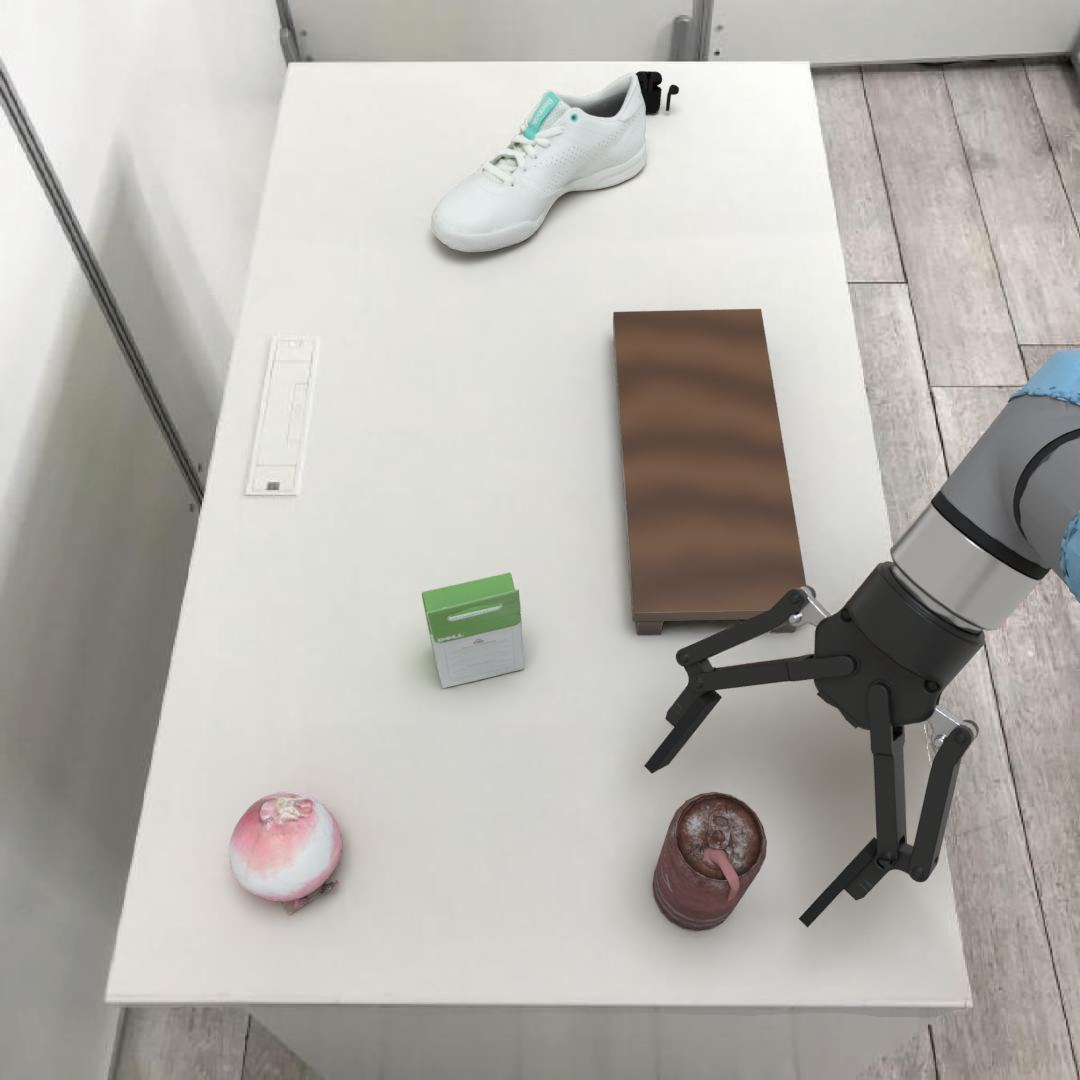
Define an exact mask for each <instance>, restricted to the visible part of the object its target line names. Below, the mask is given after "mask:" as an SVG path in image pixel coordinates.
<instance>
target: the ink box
mask: <svg viewBox="0 0 1080 1080" xmlns="http://www.w3.org/2000/svg"><path fill="white" fill-rule="evenodd" d="M421 599H422V605H423V609H424V614H425V619H426V624H427V630H428V635H429V638H430V643H431V648H432V652H433V658H434V661H435V666H436V669H437V675H438V679H439V683H440V685H441V688H442V689H446V688H451V687H456V686H459V685H463V684H467V683H472V682H476V681H480V680H484V679H489V678H492V677H497V676H500V675H504V674H509V673H513V672H516V671H517V672H518V671H522V670H524V669H525V668H526V666H525V653H524V639H523V638H524V637H523V624H522V607H521V598H520V589H519V588H518V589H516V588H515V584H514V580H513V576H512V573H511V572H510V571H509V572H506V573H505V572H504V573H500V574H495V575H491V576H488V577H483V578H478V579H474V580H470V581H466V582H460V583H456V584H452V585H447V586H446V585H445V586H441V587H437V588H433V589H428V590H424V591H423V590H422V592H421Z"/></svg>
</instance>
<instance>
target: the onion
mask: <svg viewBox="0 0 1080 1080" xmlns="http://www.w3.org/2000/svg"><path fill="white" fill-rule="evenodd" d="M342 837H343V836H342V832H341V829H340V826H339V823H338V822H337V820H336V818H335V816H334V815H333V813H332V812H331V811H330V809H329V808H328V807H326V805H325V804H324V803H322V802H321V801H319V800H318V799H315V798H314V797H312V796H310V795H305V794H303V793H297V792H291V791H277V792H273V793H272V794H268V795H266V796H264V797H261V798H259V799H258V800H257V801H256V802H253V804H251V805H250V807H248V808H247V809H246V811H245V812H244V813H243V814H242V816H241V817H240V818H239V820H238V821H237V823H236V825H235V826H234V829H233V831H232V834H231V836H230V840H229V845H228V846H229V847H228V857H229V858H228V859H229V864H230V868H231V871H232V873H233V876H234V878H235V880H236V882H237V883H238V884H239V885H240V887H241V888H243V889H244V890H245V891H247V892H248V893H250V894H252V895H254V896H256V897H259V898H261V899H264V900H268V901H274V902H280V904H281V905H282V907H283V909H284V910H285V912H286V914H287V915H291V914H292V913H294V912H295V911H297V910H299V909H300V908H302V907H304V906H306V905H307V904H308V903H310V902H312V901H313V900H314V899H315V898H316V897H317V896H320V895H323V894H325V893H326V892H328V891H329V890H331V889H332V888H334V887H335V886H337V885H338V884H340V882H339V881H338V880H337V879H335V880H333V881H330V882H327V880H328V879H329V878H330V877H331V875H332V874H333V873H334V871H335V869H336V868H337V866H338V864H339V862H340V860H341V857H342V856H341V855H342V851H343V840H342ZM320 887H321V888H320ZM319 888H320V890H319V892H317V893H316V894H315V895H313V896H312V897H311V898H309V897H308V896H309V895H311V894H312V893H314V892H315V891H316V890H318V889H319Z"/></svg>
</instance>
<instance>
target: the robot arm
mask: <svg viewBox="0 0 1080 1080" xmlns="http://www.w3.org/2000/svg"><path fill="white" fill-rule="evenodd" d="M889 553H890V556H891V560H892V561H891V560H886V561H883V562H879V563H877V565H876V566H875V567H874V568H873V570H872V571H871V572H870V573H869V574H868V576H867V577H866V578H865V580H864V581H863V582H862V583H861V584H860V585H859V587H858V588H857V589H856V590H855V592H853V594H852V595H851V597H850V598H849V599H848V600H847V601H846V603H845V604H843V607H842V608H840V610H838V611H837V612H836V613H834V614H830V612H829V611H828V610H827V609H826V608H825V607H824V606H823V605H822V604H821V603H820V602H819V601H818V600H817V593H816V590H815V589H814V587H812V586H811V585H806V586H802V587H799V588H795V589H792V590H790V591H788V592H787V593H786V594H785V595H784V596H783V597H782V598H781V599H780V600H779V601H778V602H777V603H776V604H775V605H774V606H773V607H772V608H771V609H770V610H768V611H766V612H764V613H761V614H759V615H757V616H755V617H752V618H750V619H745V620H744V621H741V622H739V623H736V624H735V625H732V626H730V627H728V628H725V629H723V630H720V631H718V632H716V633H714V634H712V635H709V636H708V637H705V638H703V639H700V640H698V641H696V642H693V643H691V644H689V645H686V646H685V647H682V648H680V649H678V650H677V652H676V653H675V662H676V663H677V664H678V665H679V666H680V667H683V668H684V671H685V672H686V674H687V676H688V682H687V685H686V686H685V687H684V689H683V690H682V692H681V693H680V694H679V695H678V697H676V699H675V700H674V702H672V705H671V706H670V707H669V709H668V710H666V714H665V718H664V719H665V720H666V721H667V722H668V723H669V724H670V725H671V727H672V729H671V731H670V732H669V733H668V734H667V736H666V737H665V738H664V739H663V741H662V742H661V743H660V744H659V746H658V747H657V749H656V750H655V751H654V752H653V754H652V755H650V757H649V759H648V760H647V761H646V763H645V764H644V765H643V767H644V768H645V769H646V770H647V771H648V772H649V773H650V774H654V773H657V772H658V771H660V770H662V769H664V768H665V767H667V766H669V765H670V764H671V763H672V761H673V760H674V759H675V758H676V756H677V755H678V754H679V753H680V751H681V750H682V749H683V748H684V746H685V745H686V744H687V743H688V741H689V740H690V738H691V737H692V736H693V735H694V733H695V732H696V731H697V730H698V728H699V727H700V726H701V724H703V722H704V721H705V720H706V718H707V717H708V716H709V715H710V713H711V712H712V711H713V710H714V708H715V707H716V706H717V704H718V703H719V702H720V701H721V700H722V698H723V697H722V696H721V695H720V694H719V692H717V691H721V690H729V689H735V688H736V689H737V688H745V687H753V686H754V687H755V686H760V685H761V686H762V685H769V684H775V683H776V684H777V683H778V684H779V683H786V682H793V683H794V682H801V681H810V680H813V684H814V686H815V689H816V691H817V693H816V696H818V697H819V698H820V699H821V700H822V701H823V702H825V704H827V705H830V706H831V707H833V708H835V709H837V710H838V711H839V712H840V714H841V715H842V716H843V719H845V721H846V722H847V723H849V725H851V726H852V727H853V728H854V729H855V730H856V729H858V728H859V729H861V730H865V731H869V740H870V741H869V742H870V752H871V754H872V757H873V758H872V760H873V782H874V783H873V784H874V785H873V786H874V807H875V808H874V810H875V832H876V833H875V835H876V837H875V836H874V837H872V838H871V839H870V841H868V843H867V844H866V845H865V846H864V847H863V848H862V850H860V852H858V853H857V855H856V856H854V858H853V859H852V860H851V861H850V862H849V863H848V864H847V865H846V866H845V868H844V869H843V870H842V871H841V872H840V873H839V874H838V875H837V876H836V877H835V878H834V880H832V882H831V883H830V884H829V885H828V886H827V887H826V888H825V889H824V890H823V891H822V892H821V893H820V894H819V896H818V897H817V898H816V899H815V900H814V901H813V902H812V903H811V904H810V905H809V907H808V908H806V910H805V911H804V912H803V913H802V914H801V915H800V916H799V917H798V920H799V921H800V922H801V923H802V924H803V925H804V926H805V927H806V928H809V927H810V926H811V925H812V924H813V923H814V922H815V921H816V920H817V919H818V918H819V916H821V914H823V912H824V911H825V910H827V908H828V907H829V906H830V905H831V904H832V903H833V902H834V901H835V899H837V897H839V895H840V894H841V893H842V892H843V891H845V892H846V893H847V894H848V895H849V896H851V898H852V899H853V900H854V901H859V900H862V899H864V898H866V896H867V895H868V894H869V893H870V892H871V891H872V890H873V889H874V888H875V887H876V886H877V884H878V883H879V882H880V881H881V880H882V879H884V877H885V876H886V875H887V874H888V873H889V872H890V871H900V872H903V873H905V874H907V875H909V877H910V878H911V879H912V880H913V881H915V882H917V883H925V882H927V880H928V879H929V878H930V876H931V875H932V873H933V872H934V870H935V869H936V868H937V865H938V864H939V858H940V855H941V851H942V845H943V841H944V837H945V832H946V828H947V824H948V820H949V815H950V811H951V807H952V802H953V799H954V794H955V790H956V785H957V781H958V776H959V771H960V768H961V763H962V759H963V757H964V755H965V754H966V753H967V751H968V750H969V748H970V747H971V745H973V743H974V741H975V740H976V738H978V736H979V734H980V728H979V726H978V724H977V722H975V721H974V720H972V719H961V718H959V717H958V716H957V715H954V714H953V713H952V712H950V711H949V710H947V709H946V708H944V707H943V706H942V705H940V700H941V696H942V694H943V692H944V690H945V689H946V688H947V687H948V686H949V685H950V683H952V681H953V680H954V679H955V678H956V677H957V676H958V674H959V673H960V672H961V671H962V670H963V669H964V668H965V666H967V665H968V663H970V661H971V660H972V659H973V658H974V657H975V655H976V654H977V653H978V652H979V651H980V650H981V649H982V648H983V646H984V645H985V644H986V641H985V638H986V634H985V632H984V631H988V632H991V631H997V630H998V629H1000V627H1001V626H1002V625H1003V624H1004V623H1005V622H1006V621H1007V620H1008V618H1010V616H1011V615H1012V614H1013V613H1014V612H1015V611H1016V610H1017V608H1018V607H1019V606H1020V605H1021V604H1022V603H1023V602H1024V601H1025V599H1027V597H1028V596H1029V595H1030V594H1031V593H1032V592H1033V590H1035V589H1036V587H1037V586H1038V585H1039V584H1040V583H1041V582H1042V580H1043V579H1044V578H1045V577H1046V576H1047V575H1048V573H1049V572H1050V571H1051V570H1052V571H1053V572H1054V573H1055V574H1056V575H1057V577H1058V578H1059V579H1060V580H1061V581H1062V582H1063V583H1064V584H1065V586H1066V587H1067V588H1068V590H1069V592H1070V593H1071V594H1072V595H1073V596H1074V598H1075V600H1076V601H1077V602H1078V603H1079V604H1080V351H1079V350H1076V349H1063V350H1060V351H1057V352H1055V353H1053V354H1052V355H1051V356H1049V357H1048V359H1046V361H1044V363H1043V364H1042V365H1041V366H1040V367H1039V369H1038V370H1037V371H1036V372H1035V373H1034V374H1033V375H1032V377H1030V379H1029V380H1028V381H1027V382H1026V383H1025V385H1023V386H1022V388H1020V389H1018V390H1017V391H1015V392H1013V393H1012V394H1011V396H1010V397H1009V399H1008V400H1007V403H1006V405H1005V406H1004V407H1003V408H1002V410H1001V411H1000V412H999V413H998V415H997V416H996V417H995V418H994V420H993V421H992V422H991V424H990V425H989V426H988V428H986V430H985V431H984V433H983V434H982V435H981V436H980V438H978V440H977V441H976V442H975V444H974V445H973V446H972V448H971V449H970V450H969V452H967V454H966V455H965V456H964V458H963V459H962V460H961V461H960V463H959V464H958V465H957V467H955V469H954V471H953V472H952V473H951V474H950V475H949V477H948V478H947V479H946V480H945V482H944V483H943V484H942V486H941V487H940V489H939V490H938V491H937V492H936V493H935V495H934V496H933V497H932V498H930V499H929V500H928V502H927V503H926V504H925V505H924V506H923V508H922V509H921V510H920V512H919V513H918V514H917V515H916V517H915V518H914V519H913V520H912V522H910V524H909V525H908V526H907V527H906V529H905V530H904V531H903V532H902V534H901V535H900V536H899V537H898V539H897V540H895V543H893V545H892V546H891V547H890V549H889ZM788 623H790V624H791V625H792V626H794V627H796V628H799V627H803V626H805V625H807V624H808V625H812V626H814V627H815V630H814V649H813V653H807V654H802V655H799V656H793V657H786V658H778V659H771V660H763V661H755V662H748V663H740V664H733V665H726V666H719V667H716V666H713V665H712V663H711V661H710V660H709V658H710V659H711V658H712V657H714V656H717V655H719V654H721V653H723V652H726V651H728V650H730V649H731V650H732V649H733V648H735V647H737V646H740V645H742V644H745V643H747V642H750V641H751V640H753V639H756V638H759V637H760V636H761V637H762V636H763V635H766V634H769V633H771V632H770V631H772V630H775V629H777V628H779V627H782V626H784V625H786V624H788ZM924 722H927V723H929V725H930V726H931V729H932V733H931V736H930V742H931V745H932V747H934V748H935V749H936V750H937V752H936V753H935V755H934V758H933V760H932V764H931V766H930V770H929V774H928V779H927V784H926V788H925V793H924V798H923V802H922V806H921V810H920V815H919V820H918V824H917V827H916V833H915V838H914V842H913V845H911V844H909V843H908V835H907V832H908V831H907V809H906V783H905V779H906V778H905V758H904V756H905V755H904V747H905V741H906V729H905V726H909V725H915V724H922V723H924Z"/></svg>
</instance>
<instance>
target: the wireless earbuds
mask: <svg viewBox="0 0 1080 1080" xmlns="http://www.w3.org/2000/svg"><path fill="white" fill-rule="evenodd" d="M635 74H636V75H637V77H638V81H639V85H640V89H641V94H642V97H643V99H644V102H645V108H646V114H656V113H658V112H659V110H660V108H661V100H662V91H663V90H662V88H661V87H660V85H661V84H662V83H663V75H662V74H661V73H660V72H659V71H656V70H653V71H648V70H639V71H637V72H635ZM679 93H680V87H679V86H678V85H676V84H671V85H670V86H669V88H668V91H667V94H666V102H665V112H670V110H671V109H670V108H671V99H672V96H675V95H678V94H679Z"/></svg>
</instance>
